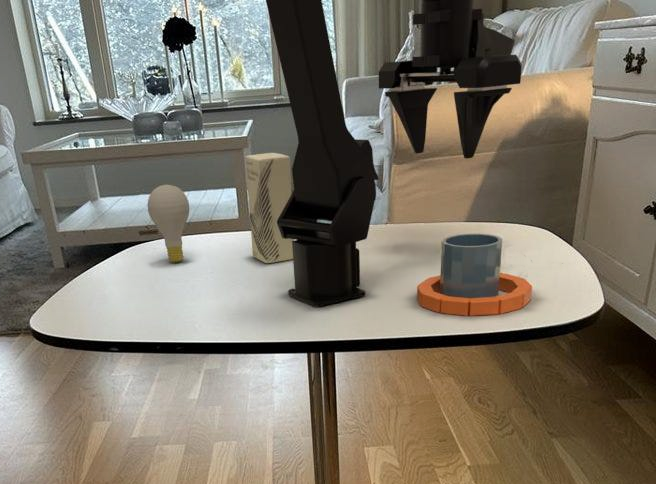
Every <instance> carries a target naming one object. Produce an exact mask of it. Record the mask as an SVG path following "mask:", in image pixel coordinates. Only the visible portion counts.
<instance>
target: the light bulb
mask: <svg viewBox="0 0 656 484" xmlns="http://www.w3.org/2000/svg"><path fill="white" fill-rule="evenodd" d="M146 207H147V213H148V215H149V217H150V219H151V221H152V222H153V224H154V225H155V226H156V228H157V229H158V230H159V232H160V233H161V235H162V237H163V239H164V244H165V248H166V252H167V258H168V260H169V261H171V262H173V263H175V264H178V263H179V262H180V261H181V260H182V261H183V259H184V258H185V256H184V252H183V251H184V250H183V240H182V238H183V232H184V230H185V229H184V228H185V227H186V223H187V222H188V218H189V215H190V202H189V200H188V197H187V195H186V194H185V192H184V191H183V190H182V189H181V188H180V187H178V186H176V185H172V184H162V185H160V186H157V187H156V188H154V189H153V190H152V191H151V193H150V194H149V196H148V199H147V206H146Z"/></svg>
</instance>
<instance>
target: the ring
mask: <svg viewBox="0 0 656 484" xmlns="http://www.w3.org/2000/svg"><path fill="white" fill-rule="evenodd" d="M440 276H441V274H439V275H435V276H430V277H428V278H426V279H425V280H423V281H421V282H420V283H419V284H418V285H417V287H416V288H417V289H416V291H417V292H416V299H417V301H418V304H419V306H420V307H422V308H425V309H427V310H429V311H433V312H436V313H440V314H446V315H457V316H466V317H468V316H470V317H477V316H491V315H492V316H493V315H499V314H500V315H502V314H507V313H509V312H513V311H517V310H520V309H523V308H524V307H526V306H527V304H528V303H529V302H530V301H531V300H532V292H533V285H532V284H531V283H530V282H529V281H528V280H527V279H526V278H523V277H521V276H517V275H513V274H509V273H506V272H505V273H503V272H500V281H499V291H502V292H506V293H504V294H500V295H499V294H498V296H495V297H484V298H461V297H450V296H446V295H443V294H440Z"/></svg>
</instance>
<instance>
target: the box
mask: <svg viewBox="0 0 656 484" xmlns="http://www.w3.org/2000/svg"><path fill="white" fill-rule="evenodd" d="M244 158H245V169H246V170H245V171H246V182H247V195H248V209H249V210H248V211H249V221H250V223H249V224H250V234H251V235H250V236H251V247H252V248H251V249H252V256H253V257H254V258H255V259H256V260H258V261H261V262H262V263H264V264H272V263H279V262H285V261H286V262H287V261H291V260H293V250H292V241H295V239H283V238H282V236H281V233H280V230H279V228H278V225H277V220H278V218H279V216H280V214H281V213H282V211H283V209H284V207H285V205H286V204H287V202H288V200H289V198H290V196H291V195H292V193H293V192H292V170H291V157H290V156H289V155H285V154H284V153H283V154H282V153H277V152H267V153H257V154H249V155H245V157H244Z"/></svg>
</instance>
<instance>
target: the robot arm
mask: <svg viewBox="0 0 656 484" xmlns="http://www.w3.org/2000/svg"><path fill="white" fill-rule="evenodd" d="M420 2H421V3H420V13H414V14H412V26H419V25H420V49H419V51H420V53H419V56H418V55H417V56H412V59H411V60H410V59H409V60H397V61H385V62H383V64H382V66H381V67H380V69H379V70H378V89H381V90H382V89H387V90H388V89H389V91H385V92H384V96H385V97H387V98H388V99H389V100H390V103H391V104H392V106H393V108H394V111H395V112H396V114H397V116H398V118H399V120H400V122H401V125H402V126H403V129H404V131H405V133H406V136H407V138H408V141H409V143H410V145H411V147H412V149H413V152H414V153H415V154H423V153H424V150H425V146H426V145H425V144H426V138H427V137H426V136H427V135H426V134H427V123H428V122H427V121H428V109H429V103H430V102H431V100H432V98H433V97H434V95H435V93H436V92H437V89H438V88H437V87H426V86H428V85H429V86H430V85H433V84H434V83H456V84H457V86H458V88H459V89H466V90H462V91H453V98H454V107H455V111H456V118H457V126H458V132H459V139H460V146H461V150H462V151H461V152H462V154H463V158H464V159H473V158H474V156H475V154H476V150H477V149H478V145H479V142H480V141H481V137H482V134H483V132H484V129H485V126H486V123H487V122H488V118H489V117H490V115H491V112H492V110H493V108H494V106H495V105H496V103H497V102H498V101H499V100H500V99H502V97H503V96H504V95H506V94H507V95H508V94H510V93H511V91H512V89H513V87H508V86H511V85H512V86H513V85H520V84H521V81H522V69H523V63H522V61H521V60H520V58H519V57H518V55H517V54H512V53H513V50H514V46H515V43H516V40H515V39H513V38H511V37H509V36H507V35H505V34H503V33H501V32H499V30H495V29H493V28H489V27H487V26H485V25H484V24H485V23H484V18H485V15H484V12H483V8H475V0H420ZM265 3H266V7H267V11H268V16H269V20H270V24H271V29H272V32H273V37H274V41H275V42H274V43H275V46H276V50H277V54H278V58H279V63H280V67H281V70H282V75H283V80H284V84H285V87H286V88H285V89H286V92H287V96H288V100H289V104H290V109H291V113H292V119H293V122H294V126H295V130H296V134H297V141H298V143H297V146H296V149H295V153H294V158H293V162H292V166H291V177H292V184H293V192H292V195H291V196H290V198H289V200H288V202H287V204H286V205H285V207H284V209H283V211H282V213H281V214H280V216H279V218H278V220H277V225H278V228H279V230H280V233H281V236H282V238H283V239H294V241H292V250H293V259H292V264H293V265H292V266H293V281H294V288H291V289H288V296H291V297H293V298H296V299H298V300H299V301H303V302H305V303H307V304H309V305H311V306H313V307H321V306H326V305H329V304H334V303H338V302H342V301H347V300H350V299H351V300H352V299H355V298H360V297H364V296H366V290H364V289H362V288H359V287H360V286H361V264H360V263H361V262H360V261H361V260H360V249H359V248H357V242H361V241H364V240H367V238H368V235H369V229H370V225H371V221H372V215H373V211H374V206H375V202H376V199H377V184H376V181H378V180H379V175H378V173H377V171H376V167H375V164H374V154H373V153H374V152H373V151H374V150H373V147H372V144H371V141H370V140H368V139H355V137H354V136H353V135H352V133H351V132H350V131H349V129H348V127H347V123H346V119H345V114H344V109H343V104H342V98H341V93H340V89H339V83H338V78H337V72H336V68H335V62H334V57H333V52H332V48H331V42H330V38H329V33H328V31H329V30H328V27H327V22H326V17H325V12H324V7H323V1H322V0H265ZM438 69H439V71H438ZM452 69H453V70H452ZM319 221H325V222H319ZM327 222H331V223H327Z"/></svg>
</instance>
